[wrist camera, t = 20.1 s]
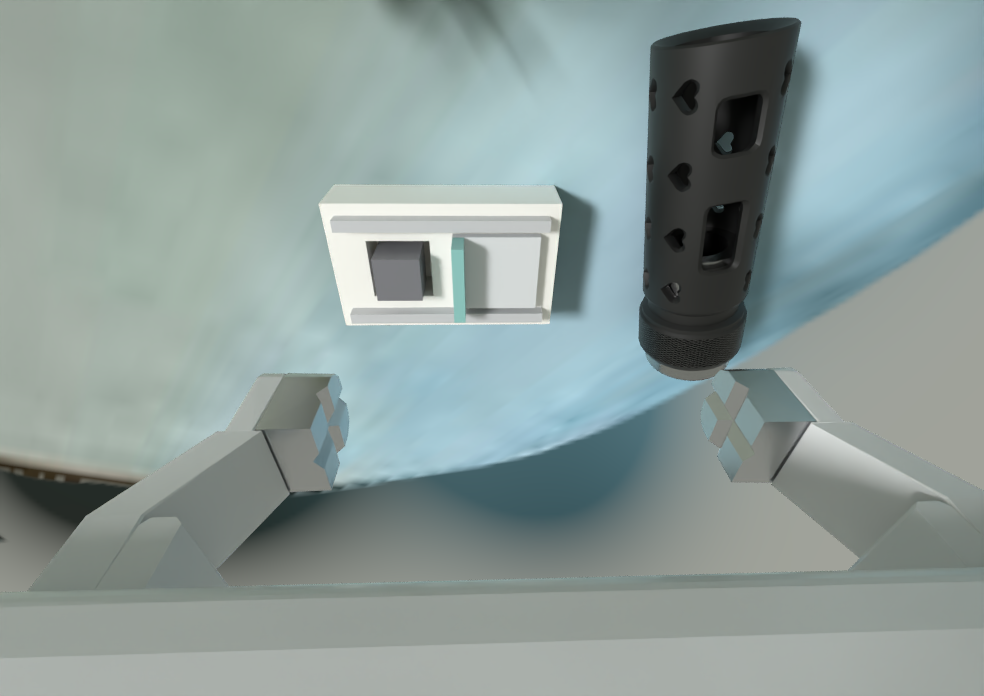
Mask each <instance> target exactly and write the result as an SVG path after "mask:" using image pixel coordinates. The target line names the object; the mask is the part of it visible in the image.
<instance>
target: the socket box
mask: <svg viewBox="0 0 984 696" xmlns="http://www.w3.org/2000/svg"><path fill="white" fill-rule="evenodd" d="M562 205H563V204H562V202H561V199H560V197H559V195H558V193H557V191H556V188H555V186H554V185H351V184H334V185H333V187H332V188H331V189H330V190H329V191H328V193H327V194H326V195H325V196H324V198H323V199H322V200H321V201H320V202H319V207H320V212H321V216H322V220H323V225H324V229H325V234H326V238H327V242H328V247H329V251H330V256H331V260H332V265H333V269H334V273H335V278H336V282H337V287H338V291H339V296H340V300H341V304H342V309H343V313H344V318H345V322H346V325H462V324H549V323H550V314H551V305H552V296H553V287H554V278H555V269H556V260H557V251H558V242H559V232H560V223H561V214H562ZM453 234H540V235H541V246H540V258H539V269H538V281H537V293H536V305H535V308H466V323H454V304H453V283H452V262H451V244H452V235H453ZM379 241H423V242H424V254H425V266H426V278H427V280H426V286H425V291H424V297H423V301H378V300H377V294H376V288H375V281H374V275H373V269H372V263H371V259H372V256H373V254H374V251H375V249H376V247H377V244H378V242H379Z"/></svg>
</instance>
